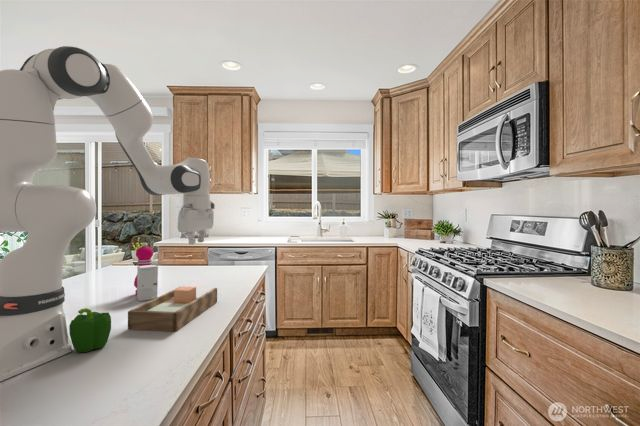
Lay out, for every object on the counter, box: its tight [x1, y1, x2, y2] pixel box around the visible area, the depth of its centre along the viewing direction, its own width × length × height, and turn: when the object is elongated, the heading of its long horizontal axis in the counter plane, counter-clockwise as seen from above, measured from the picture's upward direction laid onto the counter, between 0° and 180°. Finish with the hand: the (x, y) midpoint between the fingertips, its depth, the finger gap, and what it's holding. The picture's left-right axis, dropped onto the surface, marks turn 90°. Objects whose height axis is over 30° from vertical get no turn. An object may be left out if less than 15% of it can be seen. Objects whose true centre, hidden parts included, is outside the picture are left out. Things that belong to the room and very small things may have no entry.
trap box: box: [127, 286, 218, 332], centre depth 103 cm, size 28×14×5 cm, turn 175°
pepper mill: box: [133, 242, 154, 296], centre depth 126 cm, size 7×7×20 cm
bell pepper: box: [68, 307, 112, 353], centre depth 78 cm, size 8×8×10 cm
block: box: [173, 285, 197, 303], centre depth 108 cm, size 5×5×4 cm
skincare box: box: [136, 264, 159, 302], centre depth 120 cm, size 6×4×12 cm
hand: (196, 243), depth 116 cm, fingers open, 5 cm apart
